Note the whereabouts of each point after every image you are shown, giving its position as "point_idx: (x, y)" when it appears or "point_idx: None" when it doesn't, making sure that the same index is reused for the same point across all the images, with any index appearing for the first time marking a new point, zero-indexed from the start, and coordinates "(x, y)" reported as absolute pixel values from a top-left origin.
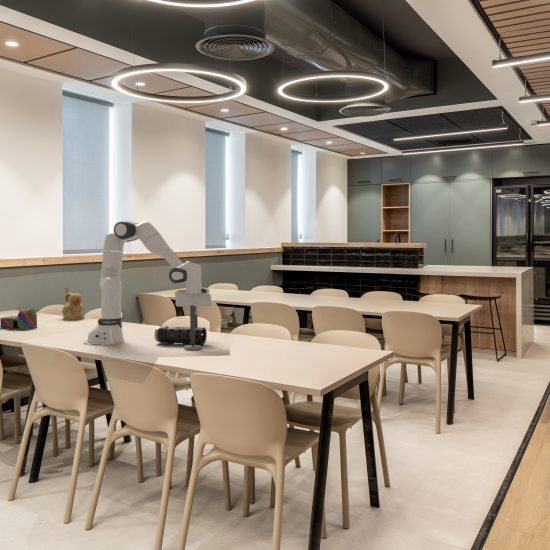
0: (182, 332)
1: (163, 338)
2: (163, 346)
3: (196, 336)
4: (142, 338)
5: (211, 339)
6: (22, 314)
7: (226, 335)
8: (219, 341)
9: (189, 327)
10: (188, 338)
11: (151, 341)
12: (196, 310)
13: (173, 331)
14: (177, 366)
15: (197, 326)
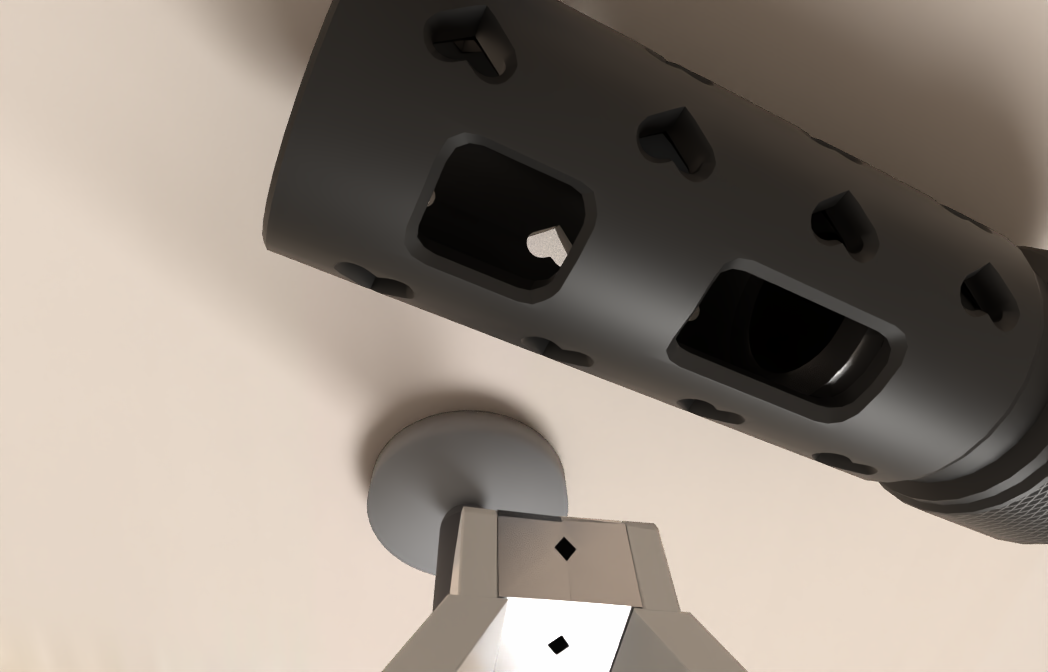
0: (793, 158)
1: (1036, 248)
2: (1003, 118)
3: (477, 255)
4: (999, 659)
5: (266, 485)
6: None
7: (106, 662)
8: (136, 331)
9: (642, 274)
10: (654, 54)
11: None
12: (450, 618)
13: (958, 251)
14: None
15: None
